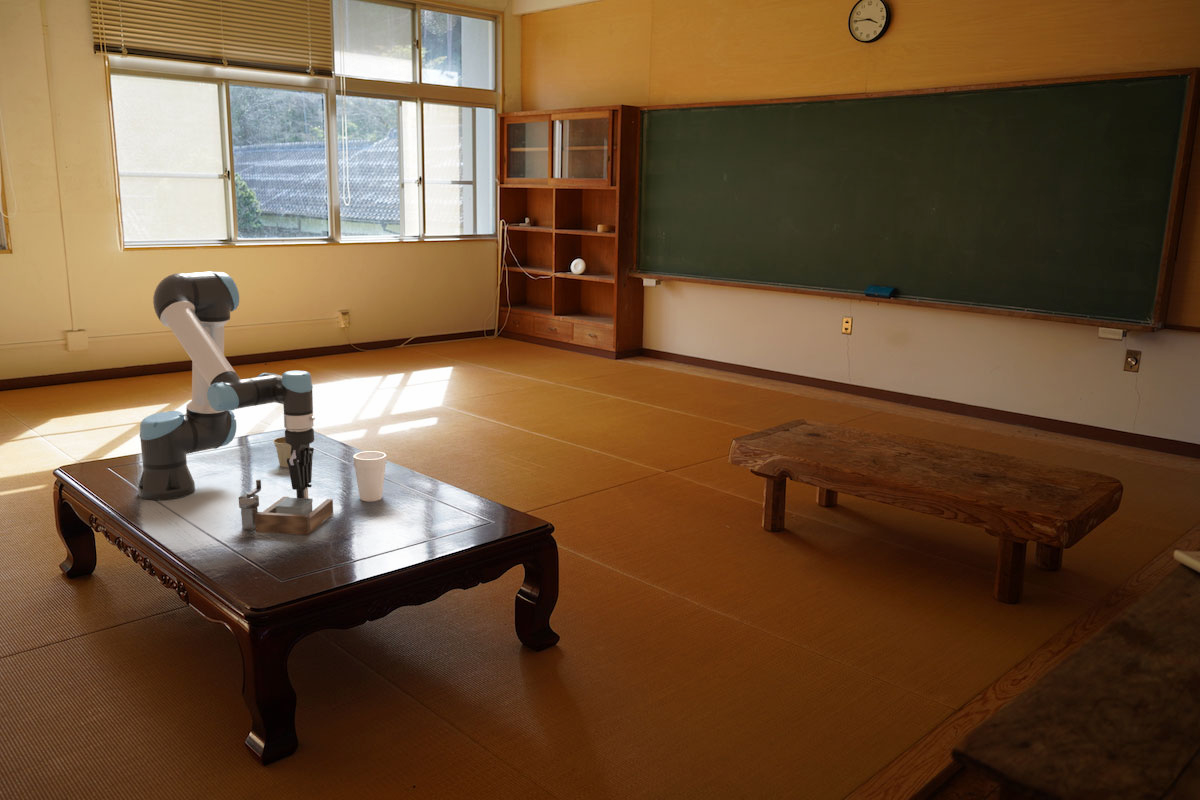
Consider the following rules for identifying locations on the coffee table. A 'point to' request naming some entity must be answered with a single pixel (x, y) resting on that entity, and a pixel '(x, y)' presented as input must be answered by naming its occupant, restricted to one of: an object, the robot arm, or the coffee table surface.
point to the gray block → (295, 506)
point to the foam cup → (370, 474)
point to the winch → (249, 507)
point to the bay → (292, 519)
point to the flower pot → (282, 451)
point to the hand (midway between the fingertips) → (303, 511)
